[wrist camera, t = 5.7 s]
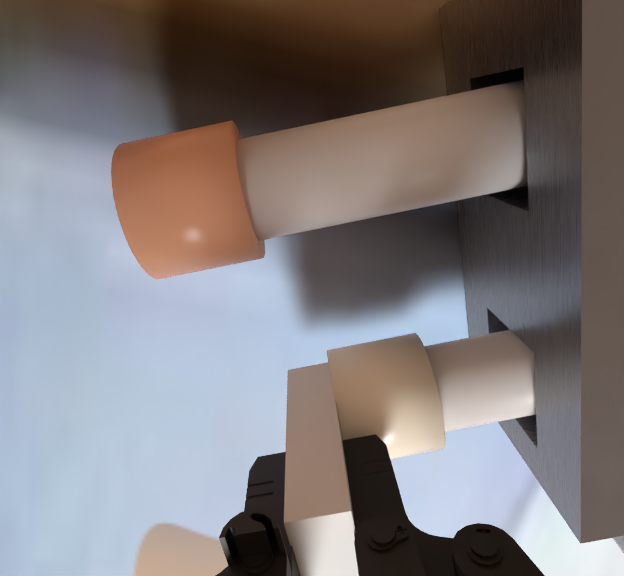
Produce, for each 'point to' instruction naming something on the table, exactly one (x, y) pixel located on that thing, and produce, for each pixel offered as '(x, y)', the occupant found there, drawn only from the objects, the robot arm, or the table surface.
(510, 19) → the grey peg holder block
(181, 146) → the knob
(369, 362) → the knob
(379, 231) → the table surface
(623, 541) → the medicine box
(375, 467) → the robot arm
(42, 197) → the table surface
